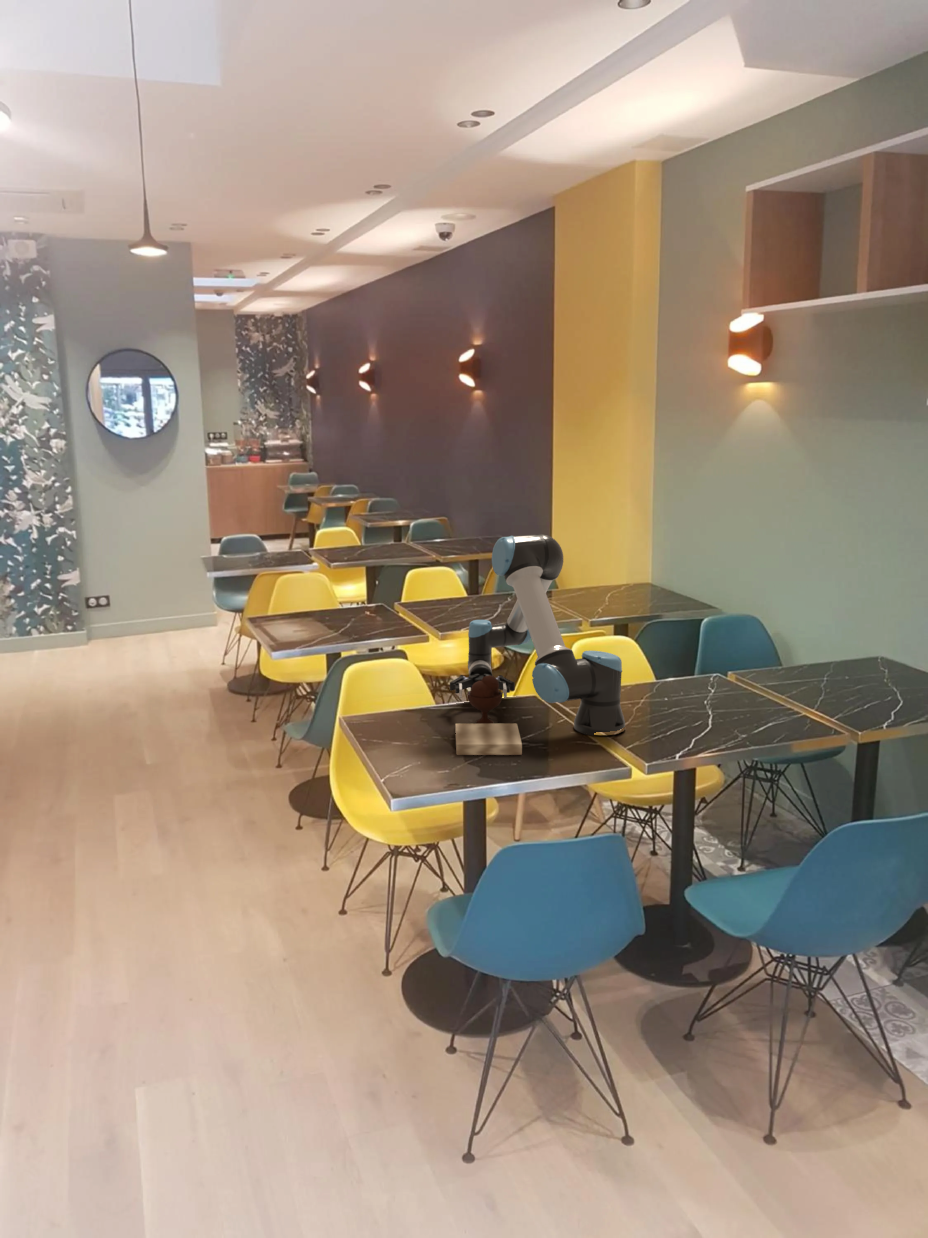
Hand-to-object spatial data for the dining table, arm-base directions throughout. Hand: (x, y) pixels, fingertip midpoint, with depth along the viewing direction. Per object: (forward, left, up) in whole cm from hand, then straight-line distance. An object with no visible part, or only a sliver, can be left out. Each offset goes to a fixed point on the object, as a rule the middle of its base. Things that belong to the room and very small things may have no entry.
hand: (483, 693), depth 298 cm
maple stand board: (0, +21, -8) cm, 23 cm away
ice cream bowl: (0, +3, -9) cm, 9 cm away
